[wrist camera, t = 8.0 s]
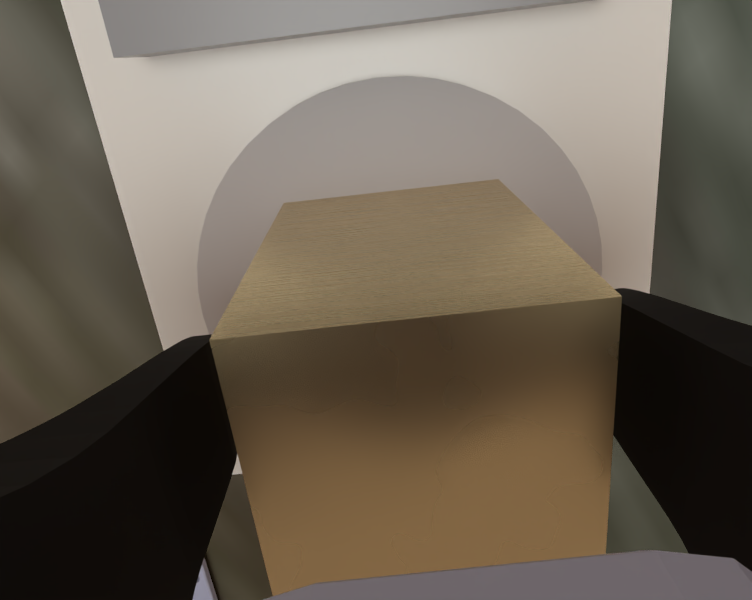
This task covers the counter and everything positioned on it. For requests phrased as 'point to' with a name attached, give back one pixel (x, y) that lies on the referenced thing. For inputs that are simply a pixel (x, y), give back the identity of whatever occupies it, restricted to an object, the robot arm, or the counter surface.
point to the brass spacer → (420, 386)
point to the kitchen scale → (368, 122)
